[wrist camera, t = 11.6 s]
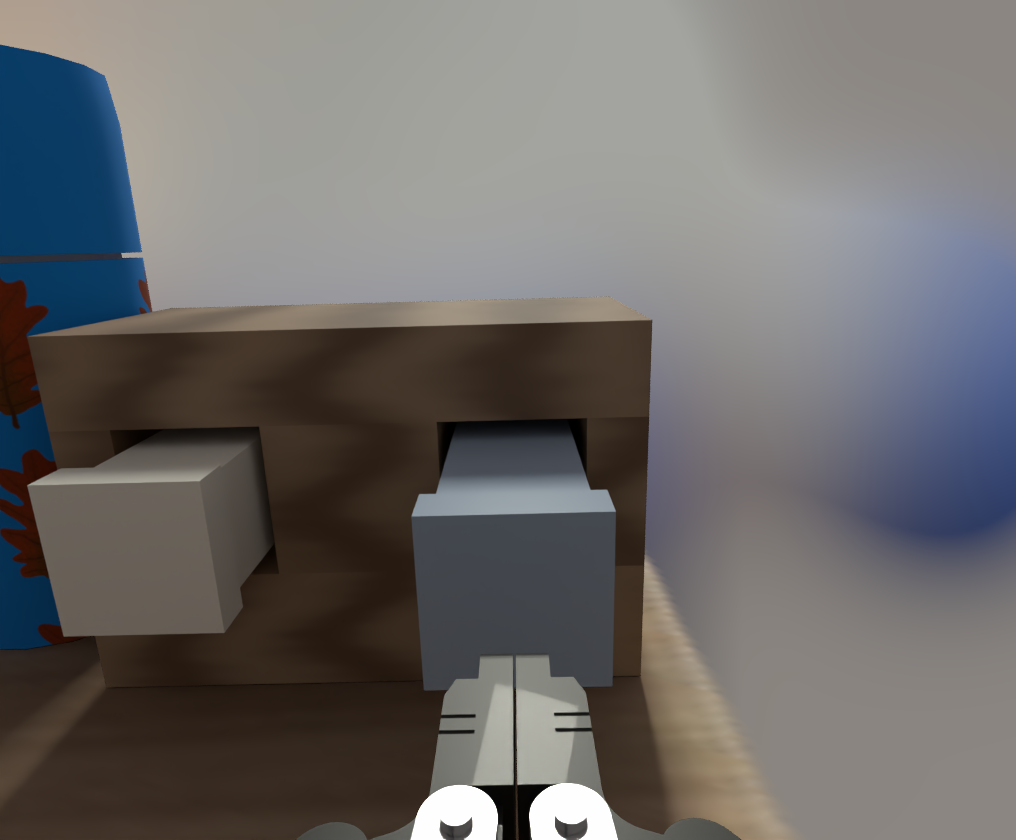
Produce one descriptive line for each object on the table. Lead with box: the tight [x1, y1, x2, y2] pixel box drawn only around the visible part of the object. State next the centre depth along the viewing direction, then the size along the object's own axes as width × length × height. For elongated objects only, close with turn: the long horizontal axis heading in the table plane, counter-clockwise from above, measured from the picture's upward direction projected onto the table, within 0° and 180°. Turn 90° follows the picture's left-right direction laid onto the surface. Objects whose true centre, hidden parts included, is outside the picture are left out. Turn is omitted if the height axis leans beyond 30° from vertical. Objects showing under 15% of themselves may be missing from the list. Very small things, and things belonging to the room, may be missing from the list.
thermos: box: [0, 45, 152, 649], centre depth 31 cm, size 11×11×25 cm
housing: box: [27, 297, 652, 687], centre depth 29 cm, size 22×10×14 cm, turn 90°
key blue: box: [411, 419, 616, 690], centre depth 23 cm, size 5×12×5 cm, turn 0°
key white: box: [27, 427, 275, 637], centre depth 26 cm, size 5×12×5 cm, turn 0°
